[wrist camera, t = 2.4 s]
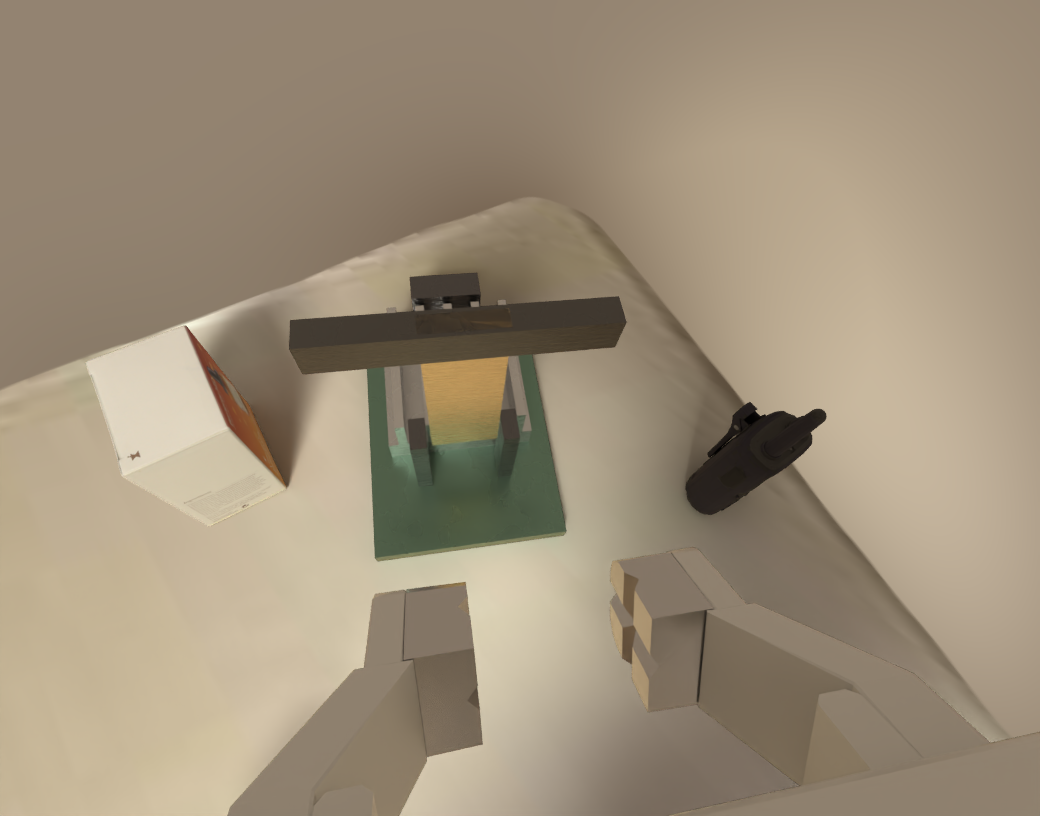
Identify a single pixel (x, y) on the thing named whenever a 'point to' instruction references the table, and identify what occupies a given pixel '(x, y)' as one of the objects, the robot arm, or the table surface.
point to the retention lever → (457, 351)
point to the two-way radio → (750, 456)
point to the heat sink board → (457, 456)
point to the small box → (183, 427)
